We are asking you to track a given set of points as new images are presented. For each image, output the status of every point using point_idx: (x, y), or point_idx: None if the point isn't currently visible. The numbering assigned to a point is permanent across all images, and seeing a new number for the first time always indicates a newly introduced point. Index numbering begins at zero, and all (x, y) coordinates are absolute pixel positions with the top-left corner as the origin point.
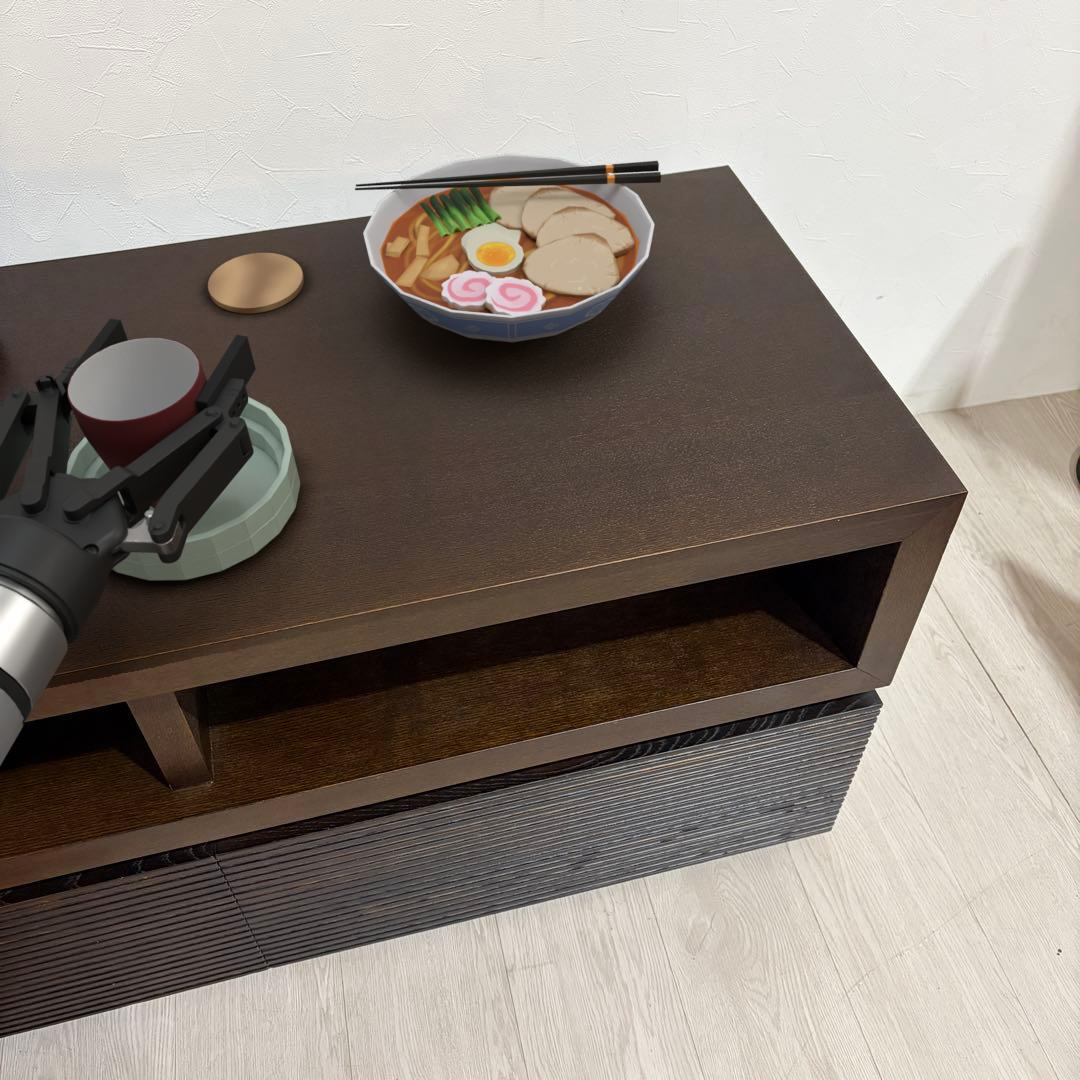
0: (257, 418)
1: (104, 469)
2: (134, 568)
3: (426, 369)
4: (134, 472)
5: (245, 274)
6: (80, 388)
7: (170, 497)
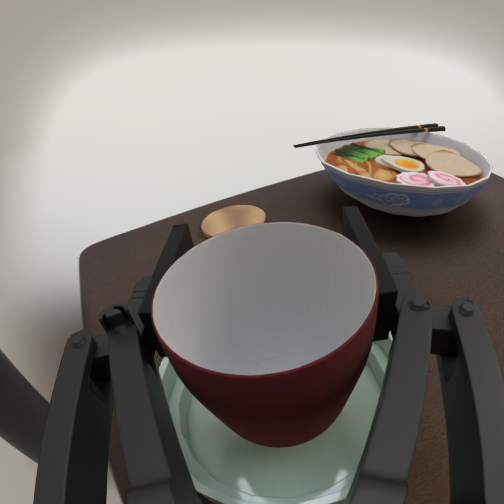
0: None
1: (184, 398)
2: None
3: (392, 246)
4: (391, 475)
5: (224, 218)
6: (165, 317)
7: (500, 489)
